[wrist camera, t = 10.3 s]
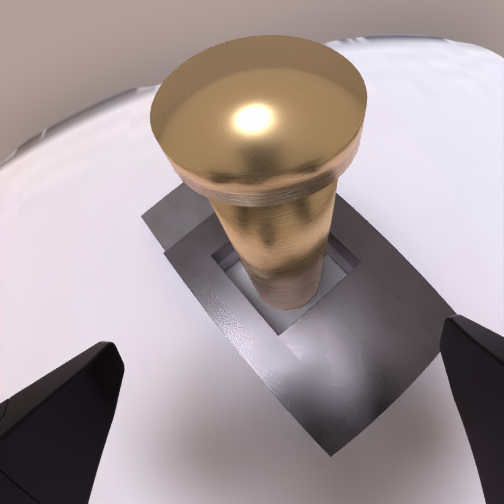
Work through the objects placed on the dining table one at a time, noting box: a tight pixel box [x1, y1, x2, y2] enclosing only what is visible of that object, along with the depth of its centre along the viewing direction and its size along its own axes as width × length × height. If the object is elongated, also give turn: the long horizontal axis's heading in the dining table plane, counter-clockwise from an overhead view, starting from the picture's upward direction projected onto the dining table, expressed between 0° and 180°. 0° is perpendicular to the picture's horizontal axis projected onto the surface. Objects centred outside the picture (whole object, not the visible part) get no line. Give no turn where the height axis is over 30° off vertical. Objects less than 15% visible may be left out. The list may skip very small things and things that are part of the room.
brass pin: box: [150, 35, 367, 309], centre depth 13 cm, size 5×5×14 cm
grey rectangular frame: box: [141, 182, 457, 457], centre depth 18 cm, size 18×10×3 cm, turn 39°
